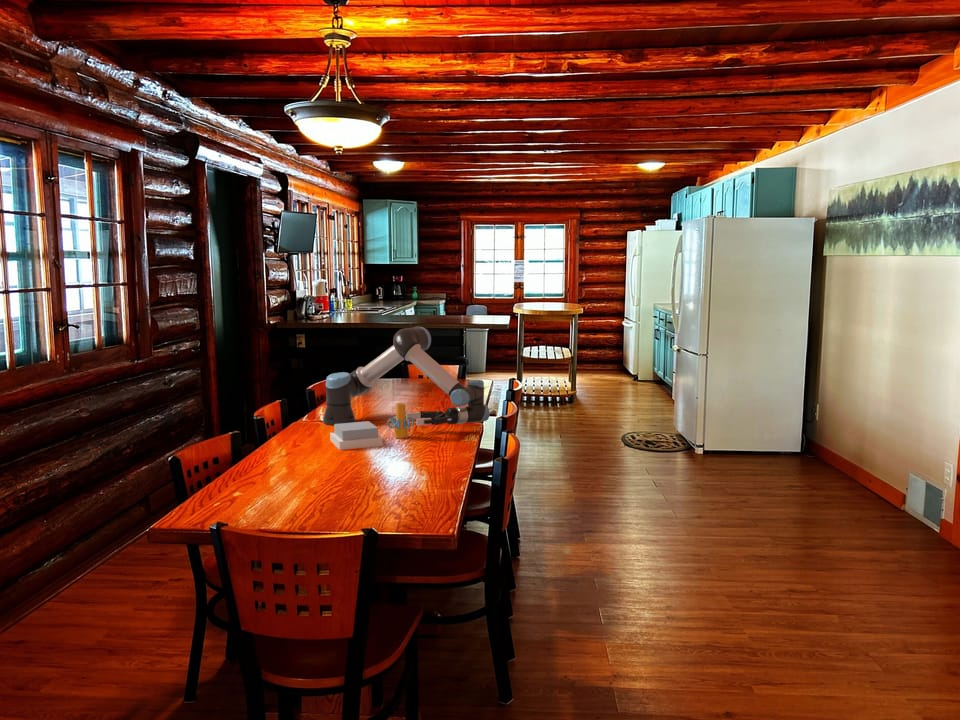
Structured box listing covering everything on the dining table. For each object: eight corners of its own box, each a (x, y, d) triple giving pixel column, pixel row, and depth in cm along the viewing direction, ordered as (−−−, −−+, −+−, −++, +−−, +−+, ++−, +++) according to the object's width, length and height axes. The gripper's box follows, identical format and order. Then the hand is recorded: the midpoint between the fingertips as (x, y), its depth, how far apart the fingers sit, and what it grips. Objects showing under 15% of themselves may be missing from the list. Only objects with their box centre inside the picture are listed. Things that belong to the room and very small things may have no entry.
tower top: (334, 433, 309) (334, 424, 308) (368, 430, 315) (368, 421, 314) (342, 440, 295) (342, 431, 295) (378, 437, 301) (378, 427, 301)
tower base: (330, 441, 310) (330, 432, 310) (371, 438, 317) (370, 429, 317) (339, 451, 294) (339, 441, 293) (382, 447, 301) (382, 437, 301)
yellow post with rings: (408, 440, 310) (408, 406, 308) (385, 439, 312) (384, 405, 310) (416, 434, 322) (416, 401, 320) (394, 433, 324) (393, 400, 322)
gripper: (466, 429, 315) (420, 433, 306) (446, 418, 337) (402, 422, 329) (466, 412, 314) (420, 416, 305) (446, 402, 336) (402, 406, 328)
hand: (411, 419), depth 317 cm, fingers open, 13 cm apart
